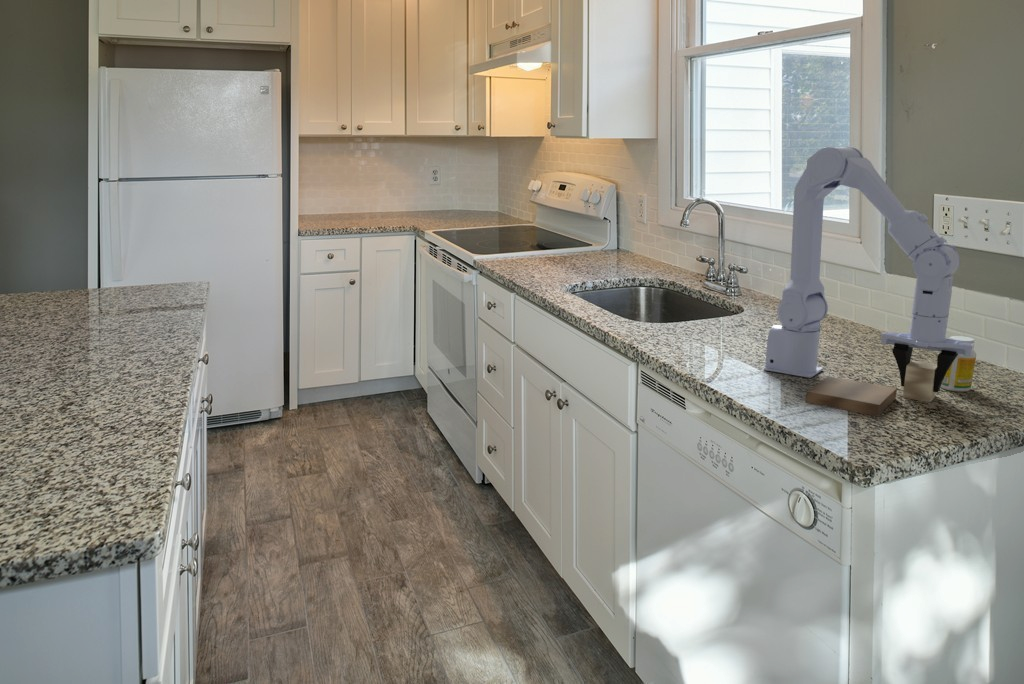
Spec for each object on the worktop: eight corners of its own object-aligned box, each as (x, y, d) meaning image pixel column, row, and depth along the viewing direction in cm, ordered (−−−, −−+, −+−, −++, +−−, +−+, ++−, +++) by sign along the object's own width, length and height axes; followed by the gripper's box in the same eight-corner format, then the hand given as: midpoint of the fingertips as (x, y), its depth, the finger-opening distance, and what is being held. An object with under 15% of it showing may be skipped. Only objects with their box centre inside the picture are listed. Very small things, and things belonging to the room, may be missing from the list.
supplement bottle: (934, 388, 146) (941, 338, 143) (942, 382, 149) (949, 333, 147) (966, 394, 142) (974, 343, 140) (974, 387, 146) (981, 338, 144)
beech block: (902, 397, 140) (906, 365, 139) (908, 391, 144) (912, 360, 142) (930, 402, 138) (934, 369, 136) (935, 396, 141) (939, 364, 139)
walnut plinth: (805, 402, 137) (806, 391, 137) (826, 386, 147) (827, 376, 146) (877, 416, 130) (879, 404, 130) (895, 398, 139) (897, 388, 139)
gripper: (880, 312, 138) (871, 385, 141) (973, 323, 129) (961, 401, 133) (890, 306, 144) (881, 377, 147) (980, 316, 135) (968, 391, 138)
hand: (920, 388), depth 140 cm, fingers open, 5 cm apart
